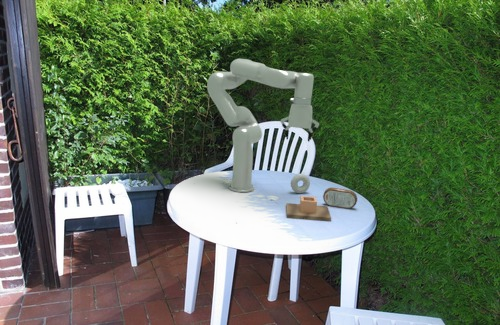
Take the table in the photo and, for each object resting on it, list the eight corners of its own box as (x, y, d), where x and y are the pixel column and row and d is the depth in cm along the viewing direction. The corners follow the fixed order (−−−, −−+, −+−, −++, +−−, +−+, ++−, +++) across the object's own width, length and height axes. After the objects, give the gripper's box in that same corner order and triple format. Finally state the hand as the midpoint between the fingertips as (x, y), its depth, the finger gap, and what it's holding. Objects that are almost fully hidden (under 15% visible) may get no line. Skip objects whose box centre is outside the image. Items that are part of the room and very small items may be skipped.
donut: (307, 191, 196) (309, 172, 194) (310, 194, 193) (312, 174, 191) (288, 192, 194) (290, 172, 192) (291, 194, 191) (292, 174, 188)
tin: (356, 208, 176) (358, 190, 174) (355, 210, 173) (357, 192, 171) (322, 203, 181) (324, 185, 179) (321, 205, 178) (323, 187, 176)
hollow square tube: (300, 212, 163) (301, 200, 162) (299, 207, 169) (300, 196, 168) (315, 213, 163) (317, 202, 161) (314, 208, 169) (315, 197, 168)
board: (286, 217, 160) (287, 214, 160) (286, 206, 173) (286, 203, 173) (330, 221, 159) (331, 217, 158) (326, 209, 172) (327, 206, 172)
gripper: (282, 100, 168) (278, 139, 173) (322, 104, 167) (317, 143, 171) (282, 99, 176) (278, 136, 180) (321, 102, 174) (316, 140, 179)
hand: (297, 139), depth 176 cm, fingers open, 9 cm apart
